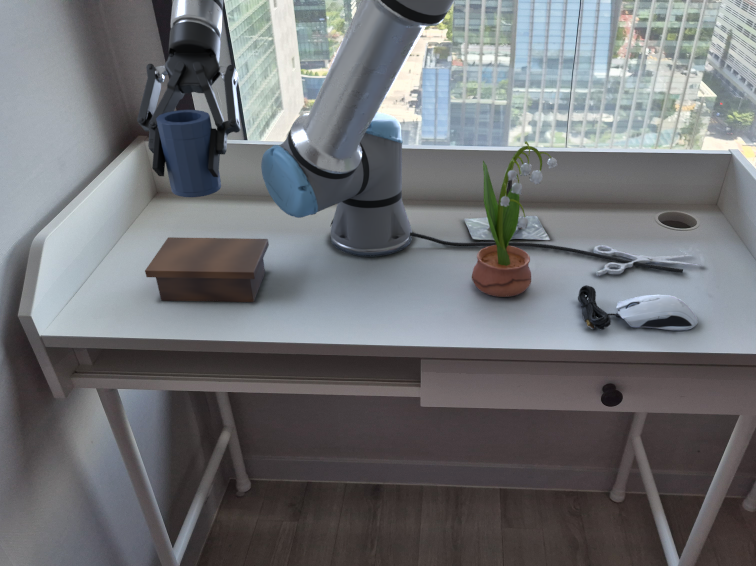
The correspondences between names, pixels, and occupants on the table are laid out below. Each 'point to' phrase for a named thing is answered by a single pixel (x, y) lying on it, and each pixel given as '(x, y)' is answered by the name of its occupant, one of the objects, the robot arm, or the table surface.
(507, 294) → the potted flower
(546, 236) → the flat silver square plate
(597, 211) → the table surface
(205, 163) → the jar
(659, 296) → the computer mouse
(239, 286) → the overhanging wooden cap box
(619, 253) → the scissors
